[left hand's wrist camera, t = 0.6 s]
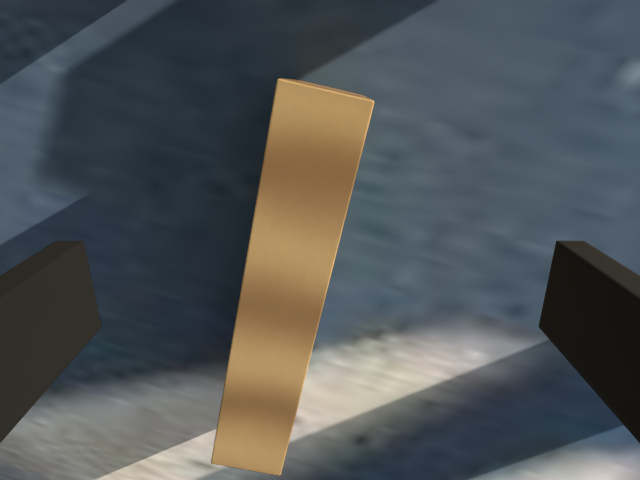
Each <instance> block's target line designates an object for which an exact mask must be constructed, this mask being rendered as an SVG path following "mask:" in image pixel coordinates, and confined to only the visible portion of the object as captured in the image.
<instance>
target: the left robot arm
mask: <svg viewBox="0 0 640 480" xmlns="http://www.w3.org/2000/svg"><path fill="white" fill-rule="evenodd" d="M100 328H101V323H100V318H99V313H98V308H97V303H96V298H95V294H94V289H93V284H92V279H91V274H90V269H89V265H88V260H87V255H86V250H85V245H84V241H55V242H54V243H52V244H50V245H49V246H47V247H46V248H44V249H42V250H41V251H39V252H38V253H36V254H34V255H33V256H31V257H30V258H28V259H26V260H25V261H23V262H22V263H20V264H18V265H17V266H15V267H14V268H12V269H11V270H9V271H7V272H6V273H4V274H3V275H1V276H0V443H1V442H2V440H3V439H4V438H5V437H6V436H7V435H8V434H9V432H10V431H11V430H12V429H13V428H14V427H15V425H16V424H17V423H18V422H19V421H20V420H21V419H22V417H23V416H24V415H25V414H26V413H27V412H28V411H29V409H30V408H31V407H32V406H33V405H34V404H35V402H36V401H37V400H38V399H39V398H40V397H41V396H42V394H43V393H44V392H45V391H46V390H47V389H48V388H49V386H50V385H51V384H52V383H53V382H54V381H55V379H56V378H57V377H58V376H59V375H60V374H61V373H62V371H63V370H64V369H65V368H66V367H67V366H68V365H69V363H70V362H71V361H72V360H73V359H74V358H75V356H76V355H77V354H78V353H79V352H80V351H81V350H82V348H83V347H84V346H85V345H86V344H87V343H88V342H89V340H90V339H91V338H92V337H93V336H94V335H95V333H96V332H97V331H98V330H99V329H100ZM539 328H540V329H541V330H542V331H543V332H544V333H545V335H546V336H547V337H548V338H549V339H550V340H551V342H552V343H553V344H554V345H555V346H556V347H557V348H558V350H559V351H560V352H561V353H562V354H563V355H564V356H565V358H566V359H567V360H568V361H569V362H570V363H571V365H572V366H573V367H574V368H575V369H576V370H577V371H578V373H579V374H580V375H581V376H582V377H583V378H584V379H585V381H586V382H587V383H588V384H589V385H590V386H591V388H592V389H593V390H594V391H595V392H596V393H597V394H598V396H599V397H600V398H601V399H602V400H603V401H604V402H605V404H606V405H607V406H608V407H609V408H610V409H611V411H612V412H613V413H614V414H615V415H616V416H617V417H618V419H619V420H620V421H621V422H622V423H623V424H624V425H625V427H626V428H627V429H628V430H629V431H630V432H631V434H632V435H633V436H634V437H635V438H636V439H637V440H638V442H639V443H640V276H639V275H637V274H636V273H634V272H633V271H631V270H629V269H628V268H626V267H625V266H623V265H622V264H620V263H618V262H617V261H615V260H614V259H612V258H610V257H609V256H607V255H606V254H604V253H602V252H601V251H599V250H598V249H596V248H594V247H593V246H591V245H590V244H588V243H586V242H585V241H556V245H555V250H554V255H553V260H552V265H551V269H550V274H549V279H548V284H547V289H546V294H545V298H544V303H543V308H542V313H541V318H540V323H539Z"/></svg>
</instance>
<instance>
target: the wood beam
mask: <svg viewBox="0 0 640 480" xmlns="http://www.w3.org/2000/svg"><path fill="white" fill-rule="evenodd" d="M373 106H374V101H373V100H371V99H369V98H367V97H365V96H363V95H360V94H356V93H352V92H347V91H343V90H339V89H335V88H330V87H326V86H322V85H317V84H313V83H309V82H305V81H300V80H296V79H277V84H276V89H275V95H274V101H273V107H272V112H271V118H270V124H269V130H268V136H267V141H266V147H265V153H264V159H263V164H262V170H261V176H260V182H259V188H258V193H257V199H256V205H255V211H254V217H253V222H252V228H251V234H250V240H249V245H248V251H247V257H246V263H245V269H244V274H243V280H242V286H241V292H240V297H239V303H238V309H237V315H236V321H235V326H234V332H233V338H232V344H231V349H230V355H229V361H228V367H227V373H226V378H225V384H224V390H223V396H222V402H221V407H220V413H219V419H218V425H217V430H216V436H215V442H214V448H213V454H212V459H211V463H212V464H217V465H223V466H228V467H234V468H239V469H245V470H251V471H256V472H262V473H267V474H273V475H278V476H280V475H281V472H282V468H283V464H284V460H285V456H286V452H287V448H288V444H289V440H290V436H291V432H292V428H293V424H294V420H295V416H296V412H297V408H298V404H299V400H300V396H301V392H302V388H303V384H304V380H305V376H306V372H307V368H308V364H309V360H310V356H311V352H312V348H313V344H314V340H315V336H316V332H317V328H318V324H319V321H320V317H321V313H322V309H323V305H324V301H325V297H326V293H327V289H328V285H329V281H330V277H331V273H332V269H333V265H334V261H335V257H336V253H337V249H338V245H339V241H340V237H341V233H342V229H343V225H344V221H345V217H346V213H347V209H348V205H349V201H350V197H351V193H352V189H353V185H354V181H355V177H356V173H357V169H358V165H359V161H360V157H361V153H362V149H363V145H364V142H365V138H366V134H367V130H368V126H369V122H370V118H371V114H372V110H373Z"/></svg>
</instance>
